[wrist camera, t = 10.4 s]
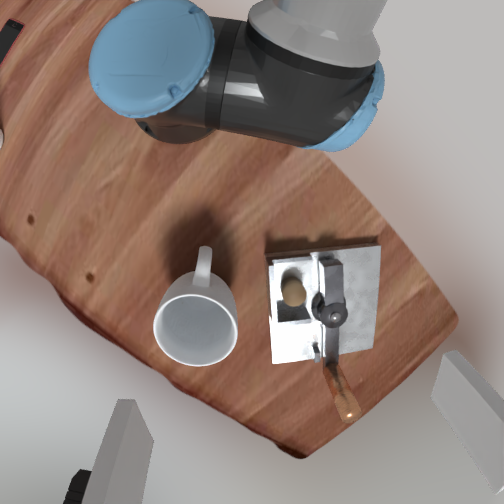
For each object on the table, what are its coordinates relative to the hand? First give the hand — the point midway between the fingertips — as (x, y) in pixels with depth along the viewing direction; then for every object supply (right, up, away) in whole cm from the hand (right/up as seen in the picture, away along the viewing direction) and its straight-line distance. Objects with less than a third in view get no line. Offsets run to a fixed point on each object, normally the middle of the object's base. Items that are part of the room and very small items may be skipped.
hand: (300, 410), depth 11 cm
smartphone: (-51, +45, +24) cm, 72 cm away
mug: (-10, +1, +40) cm, 41 cm away
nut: (+4, +1, +38) cm, 39 cm away
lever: (+11, -5, +40) cm, 41 cm away
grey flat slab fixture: (+11, -2, +42) cm, 43 cm away
